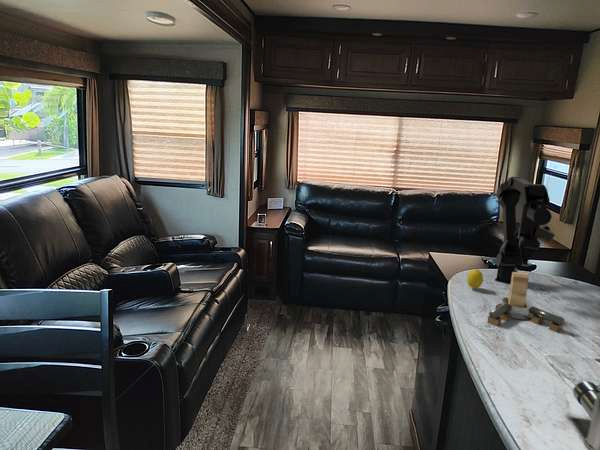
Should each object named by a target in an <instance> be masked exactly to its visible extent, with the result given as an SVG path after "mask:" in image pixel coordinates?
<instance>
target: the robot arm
mask: <svg viewBox="0 0 600 450" xmlns="http://www.w3.org/2000/svg"><path fill="white" fill-rule="evenodd" d="M549 196H550V195H549V192H548V188H547V187H546V185H544V184H543V183H542V184H541V183H539V184H538V183H537V184H536V183H532V182H531V181H528V180H526V179H525V178H524V177H522V176H511V177H510V176H509V177H508V179H507V180H506V181H503V182H502V183H500V185H499V186H498V188H497V190H496V197H497V202H498V204H499V205H500V207H501V208H502V222H503V223H502V225H503V227H502V228H503V229H502V230H503V243H502V245H501V246H500V248H499V252H498V254H497V255H496V257H495V258H494V261H495V262H494V263H495V264H494V265H496V266H497V273H496V278H494V280H495V281H497V282H501V283H505V284H509V285H511V278H512V272H517V273H519V272H518V270H517V269H521V268H522V266H523V265H527V264H528V262H529V261H530V258H531V256H532V254H533V252H535V251H538V250H539V249H540V247H541V242H540V241H539V239H538V238H541V239H543V240H544V241H545V240H546V241H547V242H548V243H551V242H552V241H553V239H554V238H555V235H556V234H555V233H554V232H553V231H552V230H550V229H551V227H550V226H548V224H549V223H550V222H551V220H552V217H553V216H552V213H551V211H550V210H549V209H548V208H547V207H548V206H549V205H550V202H551V201H550V197H549ZM521 200H522V202H521V204H522V207H521V217H520V219H519V221H518V222H519V227H518V228H517V215H516V214H517V211H516V210H517V209H516V207H517V205H518V204H519V202H520V201H521Z"/></svg>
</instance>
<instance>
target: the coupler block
mask: <svg viewBox="0 0 600 450" xmlns="http://www.w3.org/2000/svg"><path fill="white" fill-rule="evenodd" d="M529 279H530V277H529V275H528V273H524V272H518V273H517V272H512V278H511V284H509V293H508V297H507V298H508V304H510V305H511V306H517V307H523V308H525V300H526V299H527V298H526V297H527V293H528V292H527V291H528V285H529V281H530V280H529Z"/></svg>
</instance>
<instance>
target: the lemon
mask: <svg viewBox="0 0 600 450" xmlns="http://www.w3.org/2000/svg"><path fill="white" fill-rule="evenodd" d="M483 277H484V276H483V272H481V271H480V270H479V269H477V268H475V269H471V270H470V271H469V272H468V274H467V277H466V281H467V285H468V286H469V287H470V288H472V289H473V290H475V289H477V288H479V287H481V286H482V285H483V282H484V278H483Z"/></svg>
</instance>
